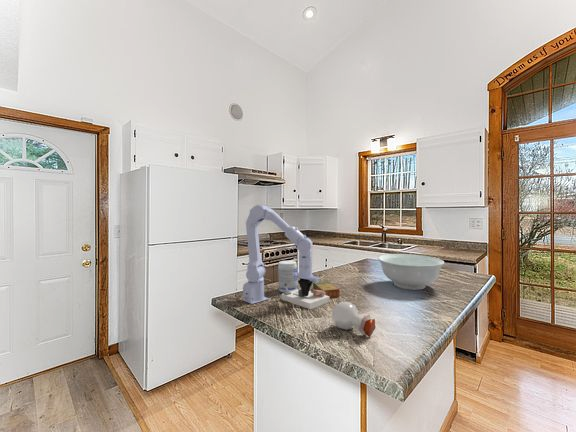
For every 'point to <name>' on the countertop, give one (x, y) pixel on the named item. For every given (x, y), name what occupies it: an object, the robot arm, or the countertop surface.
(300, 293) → the slider
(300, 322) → the countertop surface
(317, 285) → the carton
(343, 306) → the potion bottle
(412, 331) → the countertop surface
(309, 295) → the console
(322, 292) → the rocker
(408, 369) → the countertop surface
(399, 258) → the bowl
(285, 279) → the supplement tub
